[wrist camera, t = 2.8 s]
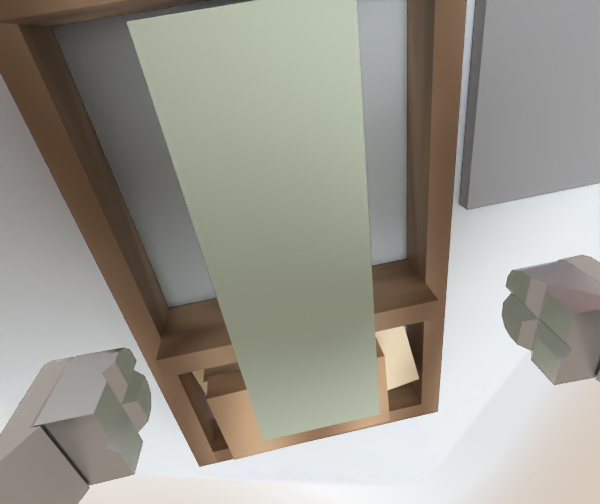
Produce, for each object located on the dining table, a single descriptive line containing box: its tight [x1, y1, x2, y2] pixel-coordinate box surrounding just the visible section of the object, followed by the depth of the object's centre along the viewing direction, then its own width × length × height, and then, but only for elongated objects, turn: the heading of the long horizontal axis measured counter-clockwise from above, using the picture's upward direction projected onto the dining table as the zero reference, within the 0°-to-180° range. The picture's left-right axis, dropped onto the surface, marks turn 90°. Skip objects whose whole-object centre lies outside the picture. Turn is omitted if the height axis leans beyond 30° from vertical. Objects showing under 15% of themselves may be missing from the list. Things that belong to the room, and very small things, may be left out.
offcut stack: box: [192, 326, 419, 460], centre depth 23 cm, size 13×7×4 cm, turn 106°
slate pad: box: [460, 0, 600, 210], centre depth 16 cm, size 8×16×1 cm, turn 8°
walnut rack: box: [0, 0, 467, 466], centre depth 19 cm, size 16×26×4 cm, turn 8°
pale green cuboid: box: [126, 0, 380, 441], centre depth 14 cm, size 4×12×10 cm, turn 8°
